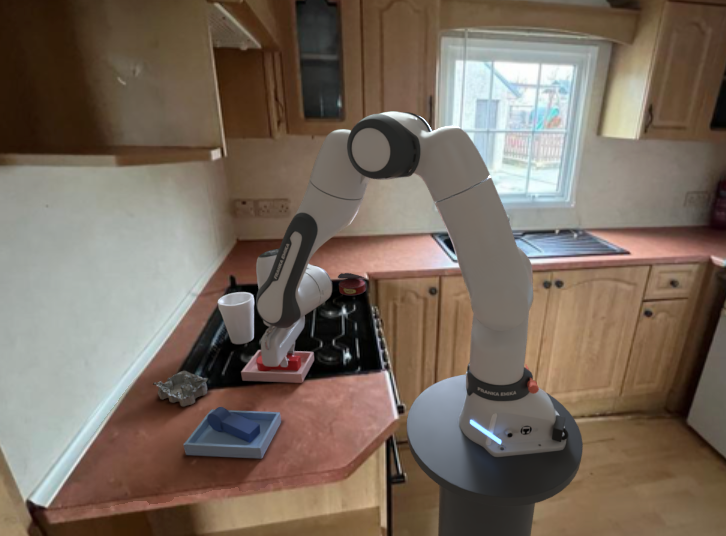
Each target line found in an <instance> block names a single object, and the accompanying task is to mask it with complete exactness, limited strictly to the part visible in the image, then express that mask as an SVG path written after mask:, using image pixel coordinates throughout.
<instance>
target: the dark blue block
mask: <svg viewBox="0 0 726 536" xmlns="http://www.w3.org/2000/svg"><path fill="white" fill-rule="evenodd" d="M228 410H229V409H228V408H227V409H226V408H225V407H223V406H218V407H216V408H215V409H214V411H213V412H211V413H210V414H209V415H208V417H207V420H208V423H209V425H210V426H211V427H212V428H213V429H214V430H216V431H218V432H221V431H225V432H227V433H229V434H231V435H234V436H236V437H238V438H240V439H242V440H244V441H246V442H249V443H250V442H251V441H252V440H254V439H255V438H256V437H257V436H258V435H259V434H260V424H258V423H256V422H253V421H251V420H249V419H247V418H244V417H242V416H240V415H238V414H235V413H233V412H229V411H228Z"/></svg>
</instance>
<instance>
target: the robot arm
mask: <svg viewBox="0 0 726 536" xmlns="http://www.w3.org/2000/svg"><path fill="white" fill-rule="evenodd" d="M412 175H415V176H418V177H419V178H420V179H421V180H422V181H423V182H424V184H425V186H426V188H427V189H428V192H429V194H430V196H431V199H432V201H433V203H434V205H435V207H436V209H437V211H438V214H439V217H440V218H441V221H442V223H443V225H444V227H445V229H446V232H447V234H448V237H449V238H450V241H451V244H452V247H453V250H454V253H455V258H456V260H457V263H458V267H459V271H460V274H461V276H462V280H463V283H464V286H465V289H466V291H467V294H468V298H469V301H470V307H471V311H472V314H473V315H472V321H471V332H470V346H469V362H468V364H467V367H466V372H465V375H466V391H467V394H466V399H465V403H464V407H463V410H462V412H461V414H460V417H459V425H460V428H461V430H462V432H463V433H464V434H465V435H466V436H467V437H468V438H469V439H470V440H472V441H473V442H475V443H477V444H479V445H481V446H482V447H484V448H485V449H486V450H487V451H488V452H489V453H490V454H491V455H492V456H494V457H504V456H513V455H522V454H532V453H541V452H551V451H560V450H563V449H564V447H565V445H566V439H567V438H568V432H567V430H566V429H565V426H564V424H565V417H563V416H560V415H559V414H558V412H557V411H556V410H555V409H554V406H553V404H552V401H551V399H550V398H549V396H548V395H547V393H548V392H547V391H545V390H544V389H542V388H541V387H539V385H538V382H537V381H536V380H534V375H533V373H532V372H531V371H530V368H529V366H528V364H526V352H527V344H528V330H529V318H530V310H531V309H532V306H533V303H534V277H533V276H534V275H533V273H534V272H533V265H532V261H531V260H530V258H529V257H528V255H527V254H526V253H525V251H524V250H523V249H522V248H520V247H519V246H518V244H517V241H516V239H515V236H514V232H513V230H512V226H511V224H510V220H509V217H508V214H507V212H506V208H505V207H504V204H503V202H502V199H501V197H500V195H499V193H498V189H497V188H496V185H495V183H494V181H493V177H492V175H491V173H490V171H489V169H488V167H487V165H486V163H485V160H484V159H483V157H482V155H481V153H480V151H479V149H478V148H477V146H476V145H475V143H474V142H473V140H472V138H471V137H470V136H469V134H468V133H467V132H466V130H464V129H463V128H461V127H460V126H455V125H454V126H453V125H447V126H442V127H439V128H437V129H435V130H432V128H431V127H430V125H429V123H428V122H427V121H426V120H425V119H424V118H423V117H421V116H420V115H418V114H417V113H413V112H410V111H409V112H407V111H404V112H403V111H402V112H400V111H394V110H392V111H385V112H381V113H373V114H370V115H367V116H365V117H363V118H362V119H361V120H359V121H358V122H357V123H356V124H354V126H353V128H351V129H335V130H333V131H331V132H330V133H328V134H327V135H326V136H325V138H324V140H323V142H322V144H321V146H320V148H319V150H318V153H317V155H316V158H315V160H314V163H313V166H312V169H311V173H310V176H309V180H308V182H307V183H308V184H307V186H306V190H305V192H304V195H303V197H302V200H301V202H300V204H299V206H298V209H297V210H296V212H295V214H294V216H293V218H291V221H290V223H289V224H288V226H287V229H286V230H285V233H284V236H283V238H282V240H281V243H280V246H279V248H273V249H270V250H266V251H265V252H263V253H260V254H259V255H258V256H257V259H256V264H255V265H256V266H255V267H256V268H255V270H256V283H257V286H258V287H257V288H258V291H257V294H256V298H255V299H256V300H255V305H256V310H257V311H256V312H257V313H258V316H259V317H260V318H261V319H262V322H263V324H264V325H265V326H267V327H268V328H266V330H265V332H264V333H263V335H262V337H261V341H260V350H261V353H262V362H263V364H264V365H265V366H269V367H277V366H279V365H281V367H287V366H288V364H289V358H287V357H286V355H294V351H295V347H296V340H297V339H298V338H299V336H300V334H301V333H302V331H303V330H304V328H305V324H306V317H305V315H307V314H309V313H311V312H312V311H314V310H315V309H317V308H318V307H319V306H321V305H322V304H324V303H325V302H327V300H329V299H330V298H331V296H332V293H333V282H332V278H331V277H330V275H329V274H328V272H327V271H326V270H325V268H324V269H323V268H322V267H321V266H319V265H314V264H310V261H311V259H312V258H313V256H314V254H315V253H316V252H317V251H318V249H320V248H321V247H322V246H323V245H324V244H325V243H326V242H328V241H329V240H330V239H332V238H333V237H334V236H336V235H338V234H339V233H341V232H342V231H343V230H345V229H347V228H348V227H350V225H351V224H352V223H353V220H354V219H355V218H356V216H357V214H358V212H359V210H360V208H361V207H362V203H363V200H364V197H365V194H366V191H367V187H368V184H369V182H370V180H371V179H372V180H379V181H386V180H393V179H401V178H402V179H403V178H410V177H412Z"/></svg>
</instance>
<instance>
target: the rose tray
mask: <svg viewBox="0 0 726 536" xmlns="http://www.w3.org/2000/svg"><path fill="white" fill-rule="evenodd" d="M294 355H296V356H300V359H301V367H300V368H299V370H298V371H293V370H270V371H259V370H258V368H257V362H256V360H257V358H258V357H260V356H262V353H261V349H257V351H256V352H255V354H254V355H253V356H252V357H251V359H249V361H248V362H247V363H246V365H245V366H244V367H243V368H242V370H241V371H240V374H241V380H242V381H243V382H269V383H272V382H273V383H293V384H294V383H295V384H302V383H303V382H304V380H305V379H306V376H307V375H308V373H309V371H310V369H311V367H312V366H313V363H314V362H315V353H314V351H301V350H300V351H298V350H297V351H296V350H294Z"/></svg>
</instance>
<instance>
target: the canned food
mask: <svg viewBox="0 0 726 536" xmlns="http://www.w3.org/2000/svg"><path fill="white" fill-rule="evenodd" d="M337 279H342V280H340V281H339V282H338V289H339V291H338V292H339V293H340V294H342V295H344V296H357V295H361V294H363V293H364V292H366V290H367V288H366V281H365V280H364V279H365V277H364V276H362V275H359V274H355V273H350V272H343V273H342V272H341V273H340V274H338V275H337Z"/></svg>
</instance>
